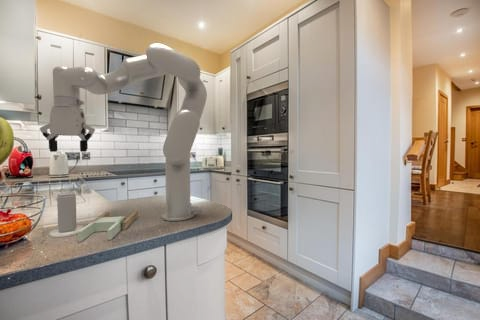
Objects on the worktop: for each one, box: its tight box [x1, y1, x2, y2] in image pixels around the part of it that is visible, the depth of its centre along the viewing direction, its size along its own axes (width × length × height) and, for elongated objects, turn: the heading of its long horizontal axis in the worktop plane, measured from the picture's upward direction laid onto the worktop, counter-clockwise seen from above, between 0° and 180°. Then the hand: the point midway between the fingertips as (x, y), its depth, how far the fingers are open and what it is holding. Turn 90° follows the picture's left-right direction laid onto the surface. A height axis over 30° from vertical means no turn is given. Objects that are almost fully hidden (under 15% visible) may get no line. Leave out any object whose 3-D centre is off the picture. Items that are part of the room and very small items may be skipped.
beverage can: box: [56, 192, 77, 232], centre depth 74 cm, size 5×5×12 cm
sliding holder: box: [77, 216, 127, 243], centre depth 74 cm, size 9×14×3 cm, turn 9°
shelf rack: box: [86, 210, 139, 231], centre depth 83 cm, size 12×15×2 cm
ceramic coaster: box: [49, 224, 85, 239], centre depth 74 cm, size 9×9×1 cm
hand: (68, 151), depth 82 cm, fingers open, 9 cm apart
